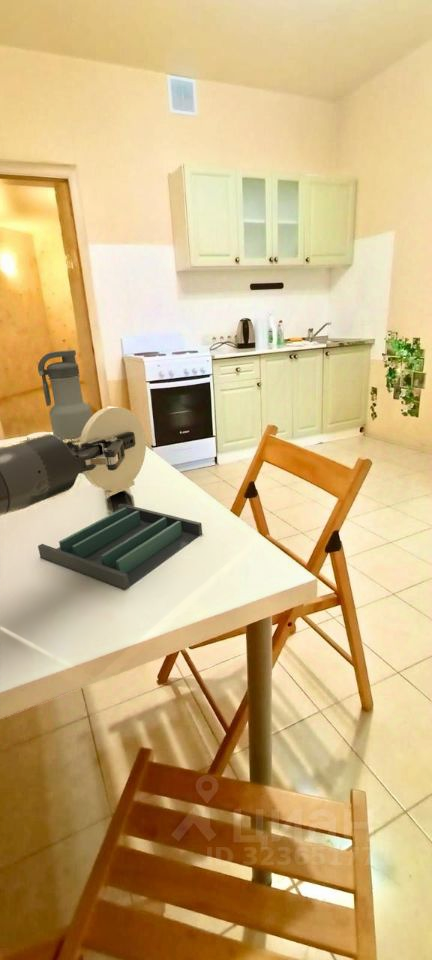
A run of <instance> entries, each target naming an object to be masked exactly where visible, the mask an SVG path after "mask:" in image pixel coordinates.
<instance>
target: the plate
mask: <svg viewBox="0 0 432 960" xmlns="http://www.w3.org/2000/svg"><path fill="white" fill-rule="evenodd" d="M126 432H133V433H134V435H135V446H134V447H131V448H129V449H126V450H124V453H125V458H124V460H123V461H122V462H121V464H120V465H119V467H118V468H117V469H116V470H113V471H111V470H108V468H107V467H106V465H100V466H97V467H95V468H94V469H92V470H91V471H89V472H87V473H83V475H84V477H85V478H86V480H87V481H88V482H89V483H90V484H91V485H92V486H93V487H96V488H97V489H100V490H104V495H105V496H106V495H108V496H110V497H112V496H114V495H116V494H118V493H120V491H121V492H124V491H123V490H125V489H127V488H129V489H130V488H131V487H133V486H135V481H134V480H135V479H136V478H137V476H138V475H139V474H140V471H141V469H142V467H143V465H144V461H145V457H146V453H147V452H146V451H147V441H146V440H147V439H146V433H145V430H144V427H143V424H142V423H141V421H140V419H139V418H138V417H137V415H136V414H135V413H134V412H132V411H131V410H129V409H128V408H125V407H121V406H106V407H103V408H101V409H99V410H97V411H96V412H95V413H94V414H92V417H91V418H90V419H89V420H88V422H87V423H86V425H85V427H84V429H83V431H82V434H81V437H80V441H83V442H86V441H89V440H92V439H95V438H101V439H107V438H110V437H114V436H117V435H120V434H123V433H126ZM108 447H109V444H108V445H107V446H106V448H108ZM105 490H106V491H105Z"/></svg>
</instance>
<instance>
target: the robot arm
mask: <svg viewBox="0 0 432 960" xmlns="http://www.w3.org/2000/svg"><path fill="white" fill-rule="evenodd" d="M80 437H81V436H77V437H70V438H63V439H60V438H59V437H57V436H55V435H53V434H51V433H50V434H45V435H42V436H38V437H35V438H31V439H27V438H26V439H24V440H20V441H17V442H13V443H10V444H6V445H3V446H0V517H2V516H3V515H7V514H9V513H13V512H18V511H21V510H24V509H27V508H30V507H31V506H34V505H36V504H39V503H42V502H43V501H46V500H48V499H51V498H53V497H56V496H57V495H60V494H63V493H66V492H68V491H69V490H71V489H72V488H73V487H74V485H75V483H76V480H77V479H78V476H79V474H84V473H87V472H89V471H91V470H92V469H94V468H95V467H97V466H100V465H106V467H107V468H108V470H111V471H113V470H116V469H117V468H118V467H119V465H120V464H121V462H122V461H123V460H124V458H125V453H124V450H126V449H129V448H131V447H134V446H135V435H134V433H133V432H126V433H123V434H120V435H117V436H114V437H110V438H107V439H101V438H95V439H92V440H89V441H86V442H83V441H80ZM108 444H109V447H108V448H106V446H107V445H108Z"/></svg>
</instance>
